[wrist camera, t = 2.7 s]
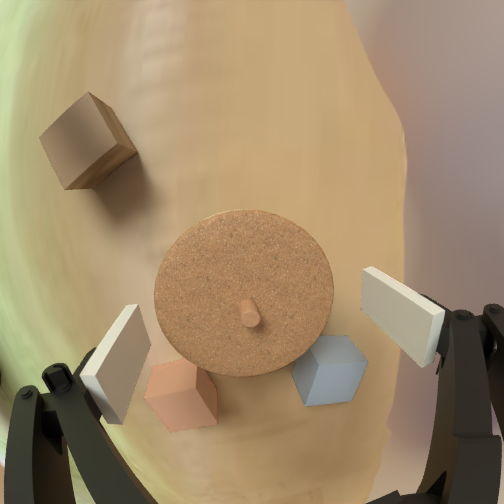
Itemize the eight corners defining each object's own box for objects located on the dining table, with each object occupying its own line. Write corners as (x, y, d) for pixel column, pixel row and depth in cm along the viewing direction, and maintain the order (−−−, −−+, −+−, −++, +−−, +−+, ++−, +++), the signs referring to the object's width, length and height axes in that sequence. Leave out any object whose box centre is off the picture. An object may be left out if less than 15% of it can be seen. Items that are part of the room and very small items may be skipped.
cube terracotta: (174, 399, 25) (169, 432, 21) (152, 365, 24) (143, 398, 19) (216, 389, 26) (218, 423, 21) (197, 354, 24) (195, 388, 20)
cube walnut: (93, 188, 20) (64, 190, 15) (69, 144, 18) (38, 137, 14) (138, 151, 20) (117, 143, 15) (111, 108, 18) (88, 91, 13)
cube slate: (291, 374, 26) (304, 406, 22) (302, 335, 25) (319, 364, 21) (333, 372, 27) (351, 401, 22) (346, 335, 26) (368, 361, 21)
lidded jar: (262, 339, 25) (285, 409, 16) (154, 294, 22) (124, 356, 13) (320, 238, 23) (378, 270, 14) (207, 179, 21) (199, 174, 12)
